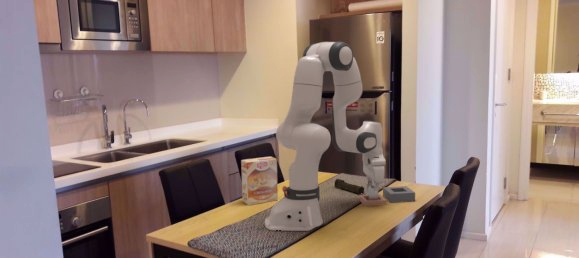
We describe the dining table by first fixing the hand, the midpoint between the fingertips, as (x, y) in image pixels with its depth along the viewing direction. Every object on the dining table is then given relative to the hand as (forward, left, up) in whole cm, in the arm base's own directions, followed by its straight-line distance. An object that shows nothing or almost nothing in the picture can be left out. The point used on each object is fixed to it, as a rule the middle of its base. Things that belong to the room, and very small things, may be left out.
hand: (373, 188), depth 193 cm
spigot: (-1, 0, -6) cm, 6 cm away
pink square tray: (-1, 0, -6) cm, 6 cm away
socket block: (+12, +3, -6) cm, 14 cm away
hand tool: (-7, +20, -7) cm, 23 cm away
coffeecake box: (-49, +11, -7) cm, 51 cm away
